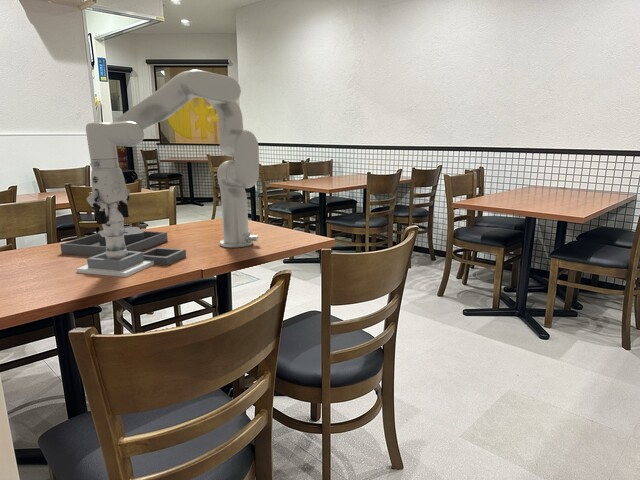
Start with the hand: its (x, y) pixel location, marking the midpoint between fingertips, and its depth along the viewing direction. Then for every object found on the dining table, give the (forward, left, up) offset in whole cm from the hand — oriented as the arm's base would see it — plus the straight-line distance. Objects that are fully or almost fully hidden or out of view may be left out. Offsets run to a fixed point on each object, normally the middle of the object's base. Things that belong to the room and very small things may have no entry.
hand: (113, 220), depth 138 cm
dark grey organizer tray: (+19, -22, -15) cm, 33 cm away
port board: (0, +1, -15) cm, 15 cm away
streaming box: (+18, -24, -15) cm, 34 cm away
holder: (-8, -11, -15) cm, 21 cm away
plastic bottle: (0, 0, -14) cm, 14 cm away
